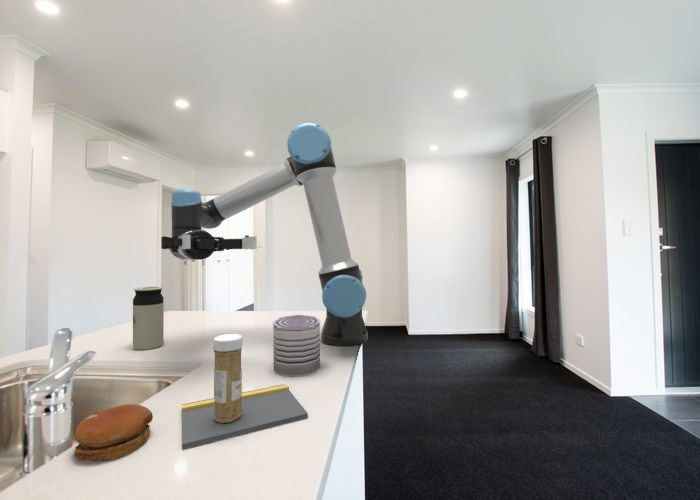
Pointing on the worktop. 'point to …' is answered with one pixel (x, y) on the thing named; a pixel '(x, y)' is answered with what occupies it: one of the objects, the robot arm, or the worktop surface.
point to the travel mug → (148, 318)
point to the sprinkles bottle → (227, 377)
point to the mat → (256, 415)
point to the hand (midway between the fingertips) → (223, 242)
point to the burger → (112, 432)
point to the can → (296, 345)
